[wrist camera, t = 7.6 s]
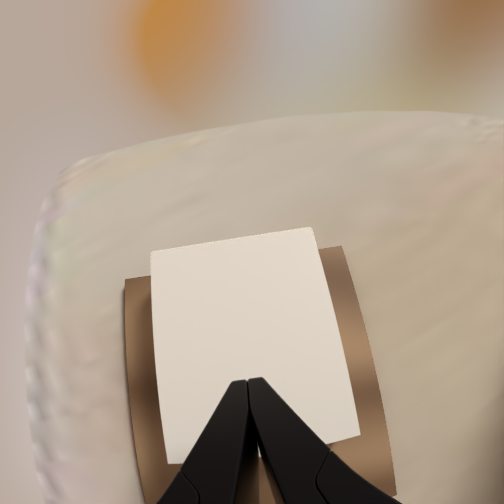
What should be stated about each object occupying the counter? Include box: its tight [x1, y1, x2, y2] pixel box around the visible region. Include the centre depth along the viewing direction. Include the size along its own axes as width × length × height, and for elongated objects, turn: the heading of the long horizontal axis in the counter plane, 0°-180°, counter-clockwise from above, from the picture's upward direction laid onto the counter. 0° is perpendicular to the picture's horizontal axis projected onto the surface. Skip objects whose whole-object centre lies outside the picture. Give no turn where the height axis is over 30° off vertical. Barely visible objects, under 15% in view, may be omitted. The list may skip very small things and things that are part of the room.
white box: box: [151, 227, 361, 464], centre depth 14 cm, size 3×8×10 cm
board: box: [125, 246, 397, 504], centre depth 15 cm, size 15×13×1 cm
